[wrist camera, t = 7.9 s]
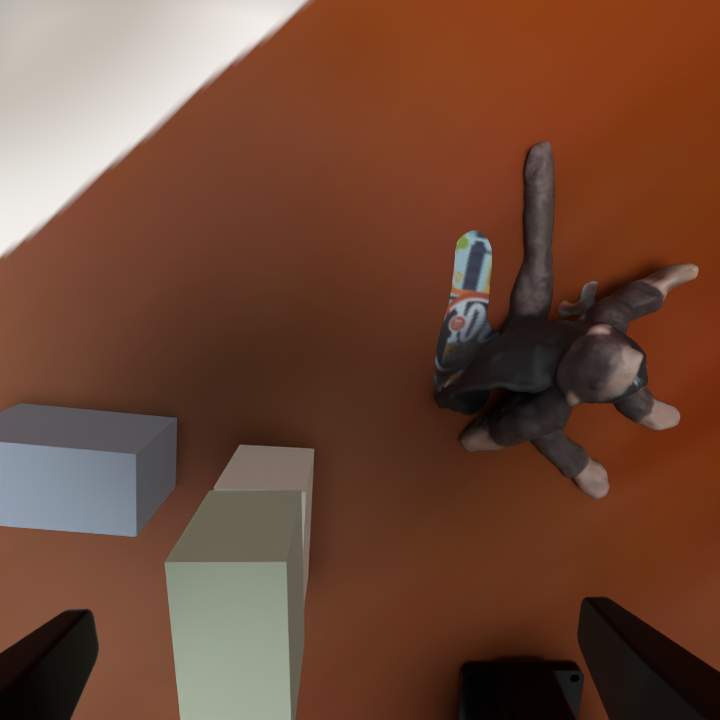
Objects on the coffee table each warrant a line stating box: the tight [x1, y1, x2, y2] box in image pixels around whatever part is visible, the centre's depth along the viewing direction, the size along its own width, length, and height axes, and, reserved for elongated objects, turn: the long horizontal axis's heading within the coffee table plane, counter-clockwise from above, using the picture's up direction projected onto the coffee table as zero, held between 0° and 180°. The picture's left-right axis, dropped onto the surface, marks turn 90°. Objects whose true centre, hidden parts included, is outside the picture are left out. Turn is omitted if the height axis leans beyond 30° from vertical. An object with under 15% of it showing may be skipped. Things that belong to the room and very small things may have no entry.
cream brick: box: [214, 445, 314, 604], centre depth 19 cm, size 7×4×4 cm, turn 176°
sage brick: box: [165, 490, 305, 720], centre depth 15 cm, size 7×4×4 cm, turn 179°
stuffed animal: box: [433, 141, 698, 500], centre depth 19 cm, size 12×10×12 cm
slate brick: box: [0, 403, 177, 537], centre depth 18 cm, size 7×4×4 cm, turn 84°
